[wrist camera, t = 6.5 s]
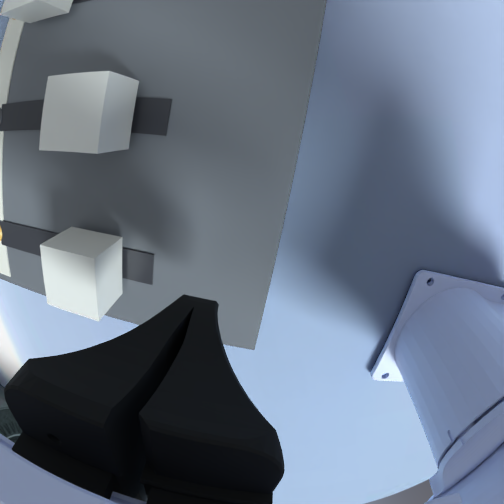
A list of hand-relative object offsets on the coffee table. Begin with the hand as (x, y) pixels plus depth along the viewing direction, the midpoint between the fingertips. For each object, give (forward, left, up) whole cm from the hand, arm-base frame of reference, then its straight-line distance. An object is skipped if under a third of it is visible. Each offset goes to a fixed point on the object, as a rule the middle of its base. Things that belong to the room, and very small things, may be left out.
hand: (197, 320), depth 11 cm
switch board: (+6, -7, -5) cm, 11 cm away
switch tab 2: (+6, 0, -3) cm, 7 cm away
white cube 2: (+6, -7, -3) cm, 10 cm away
